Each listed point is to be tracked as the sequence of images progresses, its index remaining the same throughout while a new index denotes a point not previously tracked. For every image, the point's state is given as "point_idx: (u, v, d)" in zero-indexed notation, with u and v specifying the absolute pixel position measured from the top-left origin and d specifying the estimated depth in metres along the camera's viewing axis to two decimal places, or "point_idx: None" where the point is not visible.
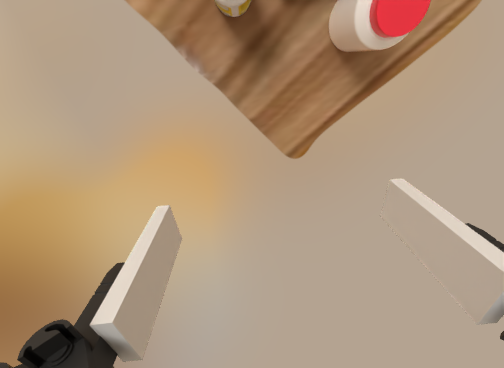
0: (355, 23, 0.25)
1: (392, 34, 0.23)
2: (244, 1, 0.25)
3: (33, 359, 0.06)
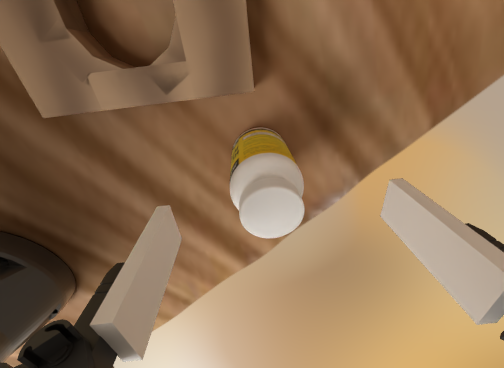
0: None
1: None
2: (298, 169, 0.15)
3: (33, 359, 0.06)
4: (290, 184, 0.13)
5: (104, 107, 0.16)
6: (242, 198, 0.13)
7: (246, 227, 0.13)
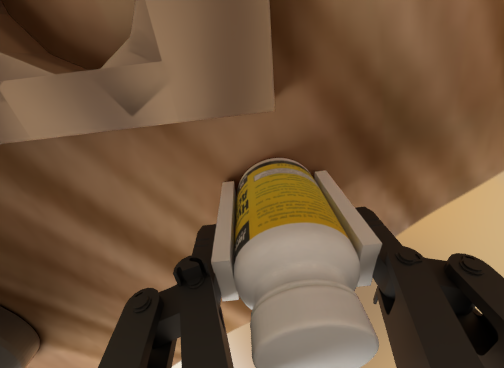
0: None
1: None
2: (353, 248, 0.09)
3: (180, 277, 0.08)
4: (352, 302, 0.07)
5: (34, 135, 0.10)
6: (258, 325, 0.07)
7: None
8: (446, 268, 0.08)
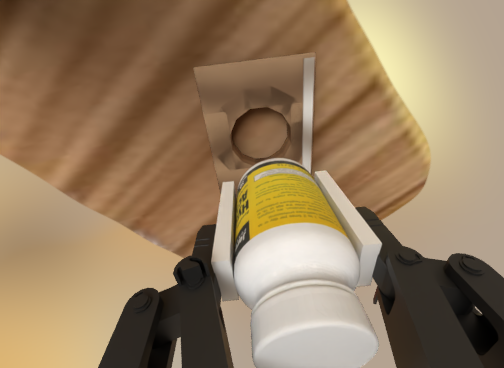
0: None
1: None
2: (353, 248, 0.09)
3: (180, 277, 0.08)
4: (352, 302, 0.07)
5: (205, 116, 0.23)
6: (258, 325, 0.07)
7: None
8: (446, 267, 0.08)
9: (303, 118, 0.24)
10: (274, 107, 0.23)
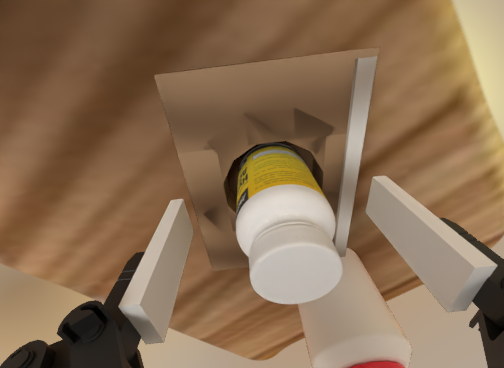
0: None
1: None
2: (329, 206, 0.11)
3: (70, 335, 0.07)
4: (323, 235, 0.09)
5: (181, 156, 0.14)
6: (254, 254, 0.09)
7: (259, 292, 0.09)
8: None
9: (345, 158, 0.14)
10: (298, 141, 0.14)
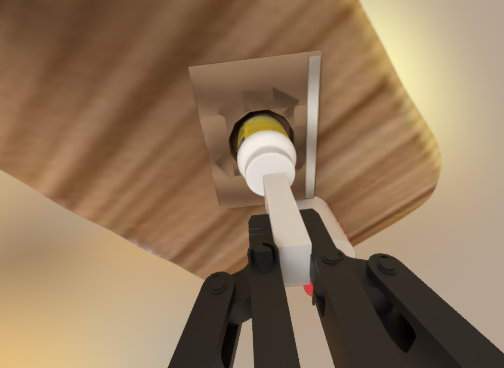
0: None
1: None
2: (292, 144, 0.19)
3: (252, 258, 0.08)
4: (284, 152, 0.17)
5: (202, 120, 0.22)
6: (247, 163, 0.17)
7: (250, 186, 0.17)
8: (367, 270, 0.08)
9: (307, 122, 0.22)
10: (276, 110, 0.21)
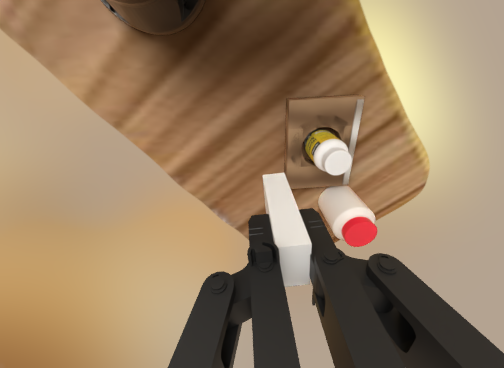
0: (333, 230, 0.39)
1: (354, 245, 0.38)
2: None
3: (252, 258, 0.08)
4: (346, 151, 0.31)
5: (289, 130, 0.36)
6: (326, 155, 0.31)
7: (326, 168, 0.31)
8: (367, 270, 0.08)
9: (351, 135, 0.37)
10: (334, 127, 0.36)
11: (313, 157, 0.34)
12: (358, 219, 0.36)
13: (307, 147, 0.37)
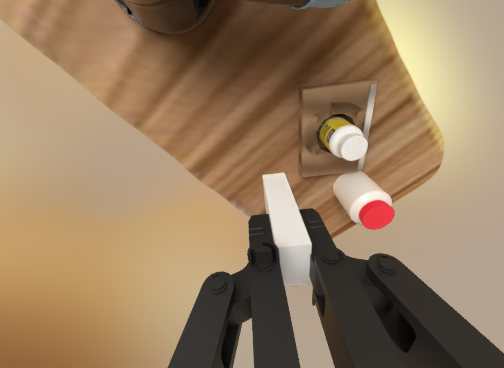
0: (350, 214, 0.40)
1: (372, 228, 0.39)
2: None
3: (252, 258, 0.08)
4: (362, 136, 0.32)
5: (303, 119, 0.37)
6: (342, 142, 0.32)
7: (342, 154, 0.32)
8: (367, 271, 0.08)
9: (365, 120, 0.37)
10: (347, 114, 0.36)
11: (328, 144, 0.35)
12: (375, 202, 0.37)
13: (321, 135, 0.38)
